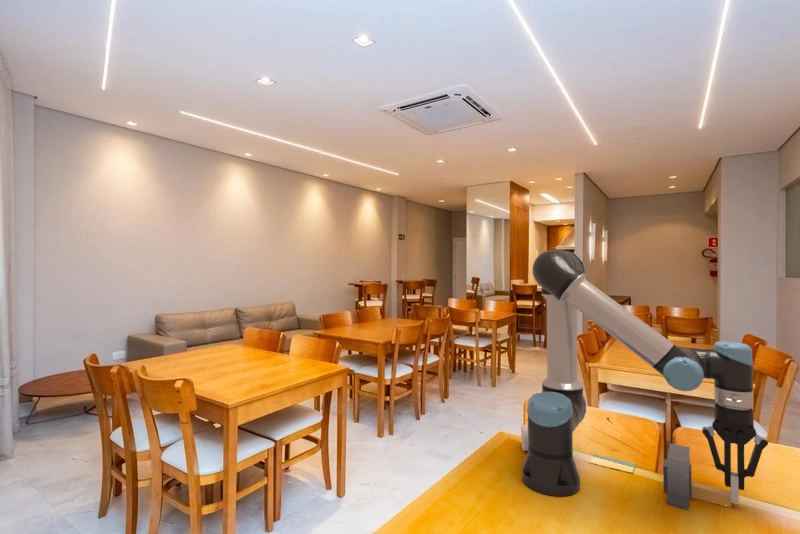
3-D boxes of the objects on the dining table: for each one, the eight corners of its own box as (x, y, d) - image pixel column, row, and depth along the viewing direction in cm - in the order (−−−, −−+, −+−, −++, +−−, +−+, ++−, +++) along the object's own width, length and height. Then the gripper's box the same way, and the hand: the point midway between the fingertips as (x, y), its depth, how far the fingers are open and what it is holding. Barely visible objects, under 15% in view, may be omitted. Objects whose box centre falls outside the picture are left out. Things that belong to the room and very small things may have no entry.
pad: (588, 463, 127) (588, 462, 127) (592, 454, 132) (592, 453, 132) (632, 474, 119) (632, 473, 119) (636, 464, 125) (636, 463, 125)
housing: (667, 504, 104) (666, 462, 104) (671, 476, 118) (670, 439, 118) (688, 510, 101) (688, 467, 101) (690, 481, 115) (690, 443, 115)
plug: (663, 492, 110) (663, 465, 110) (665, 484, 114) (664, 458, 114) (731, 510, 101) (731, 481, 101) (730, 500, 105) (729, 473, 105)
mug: (556, 457, 131) (556, 432, 131) (523, 454, 133) (523, 429, 133) (550, 441, 142) (550, 418, 143) (520, 439, 144) (520, 416, 144)
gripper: (701, 404, 104) (702, 499, 104) (770, 415, 96) (771, 517, 96) (701, 396, 110) (702, 486, 110) (766, 406, 102) (767, 502, 102)
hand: (734, 500), depth 103 cm, fingers closed
